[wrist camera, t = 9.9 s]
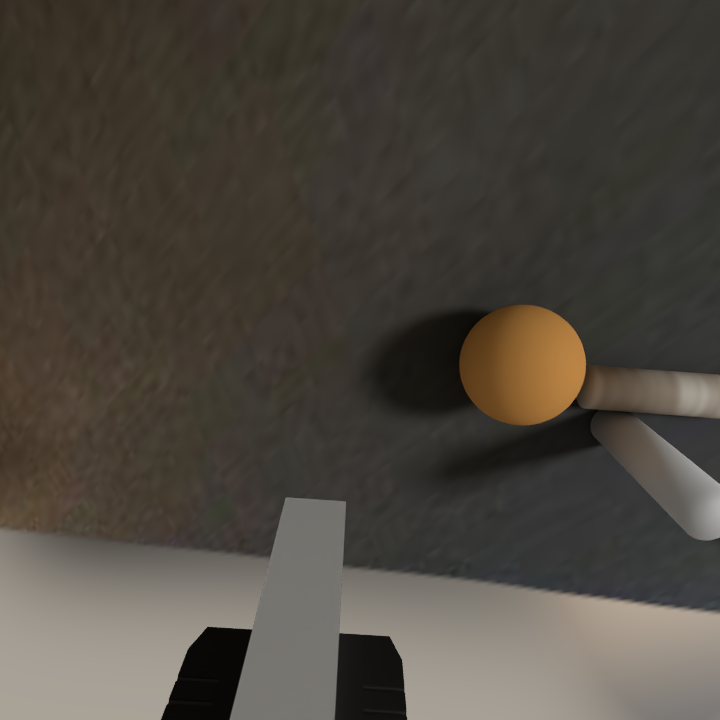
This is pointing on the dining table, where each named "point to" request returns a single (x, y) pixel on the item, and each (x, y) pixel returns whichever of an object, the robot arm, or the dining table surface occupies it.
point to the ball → (522, 364)
